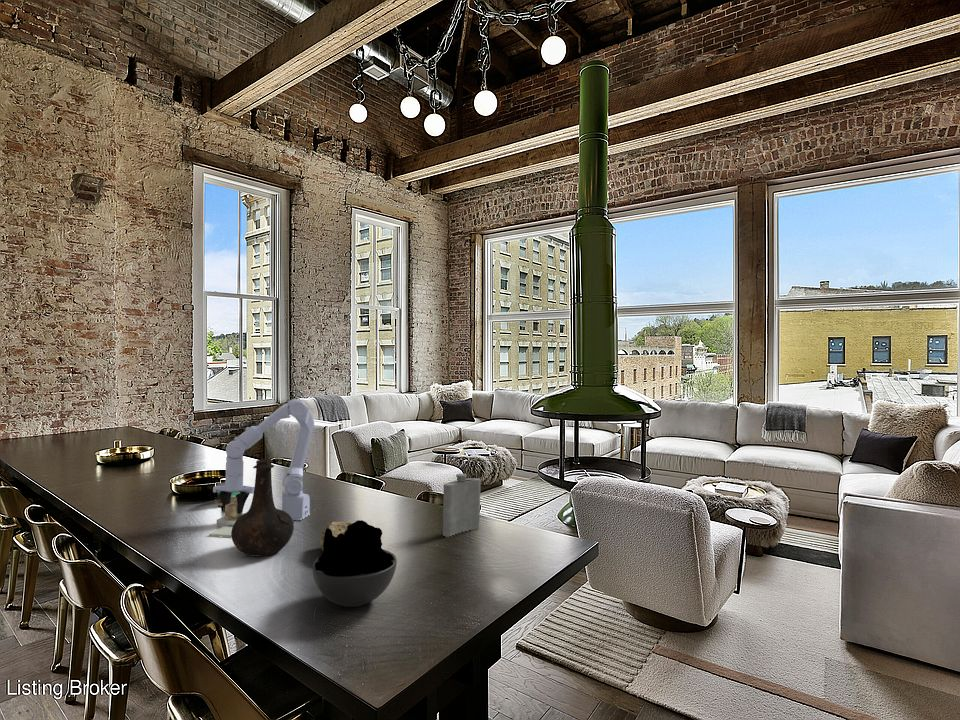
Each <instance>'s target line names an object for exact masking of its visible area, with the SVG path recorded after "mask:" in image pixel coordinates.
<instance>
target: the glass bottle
mask: <svg viewBox="0 0 960 720" xmlns="http://www.w3.org/2000/svg"><path fill="white" fill-rule="evenodd" d="M272 462H273V459H271V458H267V459H266V458H263V459H258V460H256V462H255V463H256V465H254V466H253V467H252V468H253V469H255V480H254V486H253V487H254V493H253V495H252V498H251V499H252V500H251V504H250V507H249V509H248V510H247V511H246V512H245V514H243V515H242V516H240V517H239V518H238V519H237V520H236V522H235V523H234V525H233V528H232V532H231V537H232V538H231V537H230V538H231V540H232V542H233V545H234V546H235V548H236V549H237V550H238V551H240V553H243V554H244V555H247V556H251V557H262V556H263V557H264V556H269V555H273V554H274V553H275V554H276V553H277V552H279V551H281V550H283V548H284V547H286V545H287V544H288V543H289V541H290V540H291V538H292V536H293V534H294V530H295V524H294V520H292V518H291V516H290V515H289V514H288V513H286V512H285V511H283V510H282V509H279V508H277V507H276V505H275V502H274V495H273V482H272V480H273V479H272V469H274V467H275V465H274V464H272Z"/></svg>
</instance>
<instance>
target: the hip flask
mask: <svg viewBox="0 0 960 720" xmlns="http://www.w3.org/2000/svg"><path fill="white" fill-rule="evenodd" d="M455 477H456V480H455V481H450V482H446V483H444V484H443V496H442V497H443V499H442V500H443V505H442V506H443V507H442V508H443V510H442V537H443V536H445V537H444V538H450V537H449V536H451V537H453V536H452V535H454V536H456V535H455V534H457V535H459V534H458V533H460V534H462V533H461V532H463V533H466V532H465V531H467V532H470V531H469V530H471V531H476V530H475V529H477V530H480V528H481V525H480V524H481V519H480V518H481V478H478V477H474V478H472V477H471V478H470V477H469V478H467V474H466V473H456V475H455Z"/></svg>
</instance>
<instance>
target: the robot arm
mask: <svg viewBox="0 0 960 720" xmlns="http://www.w3.org/2000/svg"><path fill="white" fill-rule="evenodd" d="M310 409H311V408H310V407H309V406H308V405H307V404H306V403H305V402H304V401H303V400H301V399H298V398H292V399H290V400H288V401H287V403H284V404H282V405H281V406H279V407H278V408H277V409H275V410H274V412H272V413H271V414H270V415H269V416H268V417H266V418H265V419H264V420H263V421H262V422H260V423H259V424H258V425H251V426H250V427H249V426H247V427H245V428H244V431H243V432H242V433H241V434H240V435H238V436H235V437H234V438H233V440H231V441H230V442H228V444H227V445H226V447H225V453H226V457H225V458H226V462H225V481H226V483H225V486H217V485H215V486H213V487H212V492H213V493H217V498H218V497H219V499H220V500H221V502H222V505H223V507H222V509H223V510H224V512H225V505H227V504H230V500H231V495H232V492H233V493H239V494H237V495H236V498H237V504H238V508H237V512H238V514H240V513H244V511H243V510H244V508H245V504H246V502H247V500H248V497H249V496H250V495H251V494H254V487H255V486H249V485H244V460H243V459H244V454H245V451H246V450H249V449H250V448H251V447H252V446H254V445H255V444H256V443H258V442H259V441H260V440H261V439H262V438H263V436H264V432H265V431H267V430H268V429H270V428H271V427H273V426H274V425H276V424H277V423H278V422H279V421H281V420H283V419H290V418H291V416H292V417H293V418H295V420H296V421H297V423H298V424H299V429H298V433H297V437H296V442H295V445H294V449H293V454H292V457H291V461H290V465H289V466H288V470H287V473H286V474H285V475H284V477H283V478H282V485H283V488H284V489H283V491H282V492H281V493H282V496H281V498H282V500H281V510H283V511H285V512H286V513H288V514H289V515H290V516H291V518H292V520H293V521H299V520H300V521H303V520H304V519H305V517H306V518H307V517H309V516H310V515H311V513H310V512H311V511H310V508H311V506H310V502H311V498H310V495H309V494H307V493H304V492H303V488H304V484H303V476H304V467H305V463H306V459H307V455H308V451H309V447H310V442H311V438H312V435H313V431H314V428H315V427H314V426H315V420H314V418H313V415H312V413H311V410H310ZM290 415H291V416H290ZM218 492H220V494H218ZM308 515H309V516H308ZM302 519H303V520H302Z"/></svg>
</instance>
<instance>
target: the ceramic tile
mask: <svg viewBox="0 0 960 720" xmlns="http://www.w3.org/2000/svg"><path fill="white" fill-rule="evenodd" d="M232 528H233V527H229V526H223V527H218V528H217V529H216V530H213V531H212V532H209V533H208V537H215V536H222V537H221V538H231V532H232Z"/></svg>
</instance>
